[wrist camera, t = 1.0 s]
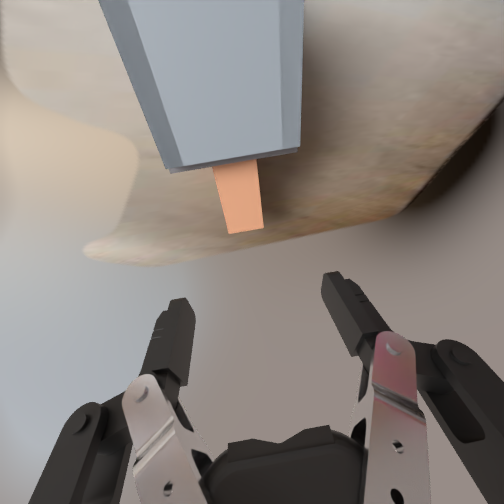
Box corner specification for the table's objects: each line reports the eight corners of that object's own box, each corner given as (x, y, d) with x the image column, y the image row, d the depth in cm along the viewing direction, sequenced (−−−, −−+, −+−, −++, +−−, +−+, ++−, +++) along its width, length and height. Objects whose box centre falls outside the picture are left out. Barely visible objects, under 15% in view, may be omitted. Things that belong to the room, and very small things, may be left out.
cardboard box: (234, 22, 15) (238, -17, 10) (256, 203, 24) (264, 228, 19) (187, 30, 15) (168, -5, 10) (227, 208, 24) (228, 234, 19)
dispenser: (268, -15, 14) (313, -134, 7) (275, 136, 20) (302, 155, 13) (141, 6, 14) (55, -92, 7) (187, 151, 20) (166, 178, 13)
